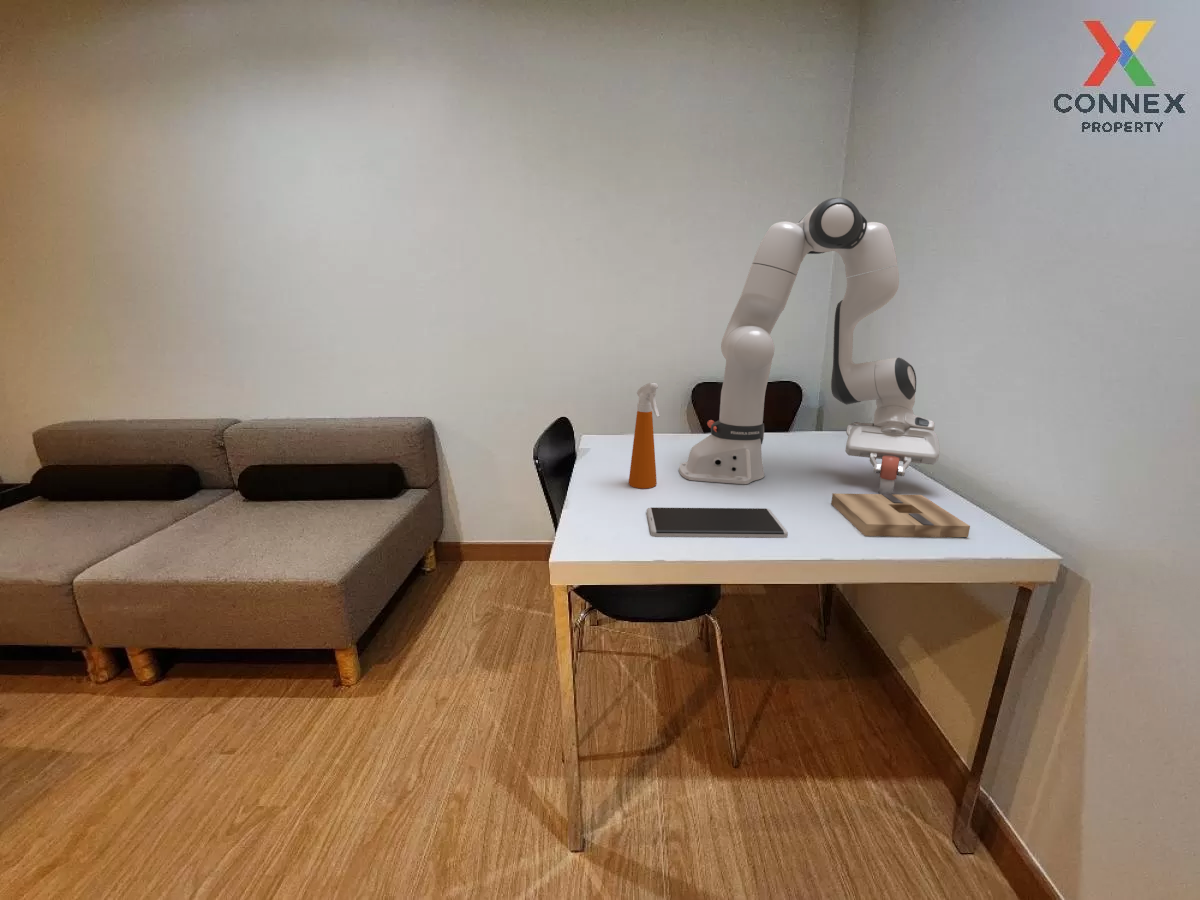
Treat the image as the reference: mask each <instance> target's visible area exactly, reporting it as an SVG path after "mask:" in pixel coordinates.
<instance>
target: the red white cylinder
mask: <svg viewBox="0 0 1200 900" xmlns="http://www.w3.org/2000/svg"><path fill="white" fill-rule="evenodd" d="M899 463H900V461H899V458H898V457H895V456H883V457H882V459H881V463H880V464H881V471H880V473H879V478H880V480H879V481H880V482H879V489H878V494H881V493H887V494H894V488H895V481H896V480H897V478H898V476H897V472H898V466H899Z"/></svg>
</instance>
